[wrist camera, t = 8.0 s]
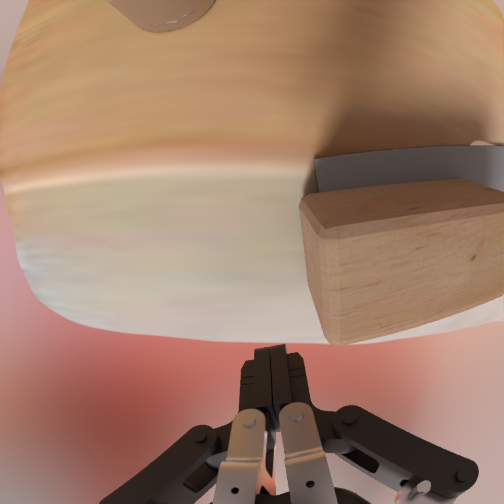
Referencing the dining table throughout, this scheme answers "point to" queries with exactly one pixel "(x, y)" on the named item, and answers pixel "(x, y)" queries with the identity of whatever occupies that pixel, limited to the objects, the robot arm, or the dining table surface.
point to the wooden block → (401, 254)
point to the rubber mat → (412, 167)
